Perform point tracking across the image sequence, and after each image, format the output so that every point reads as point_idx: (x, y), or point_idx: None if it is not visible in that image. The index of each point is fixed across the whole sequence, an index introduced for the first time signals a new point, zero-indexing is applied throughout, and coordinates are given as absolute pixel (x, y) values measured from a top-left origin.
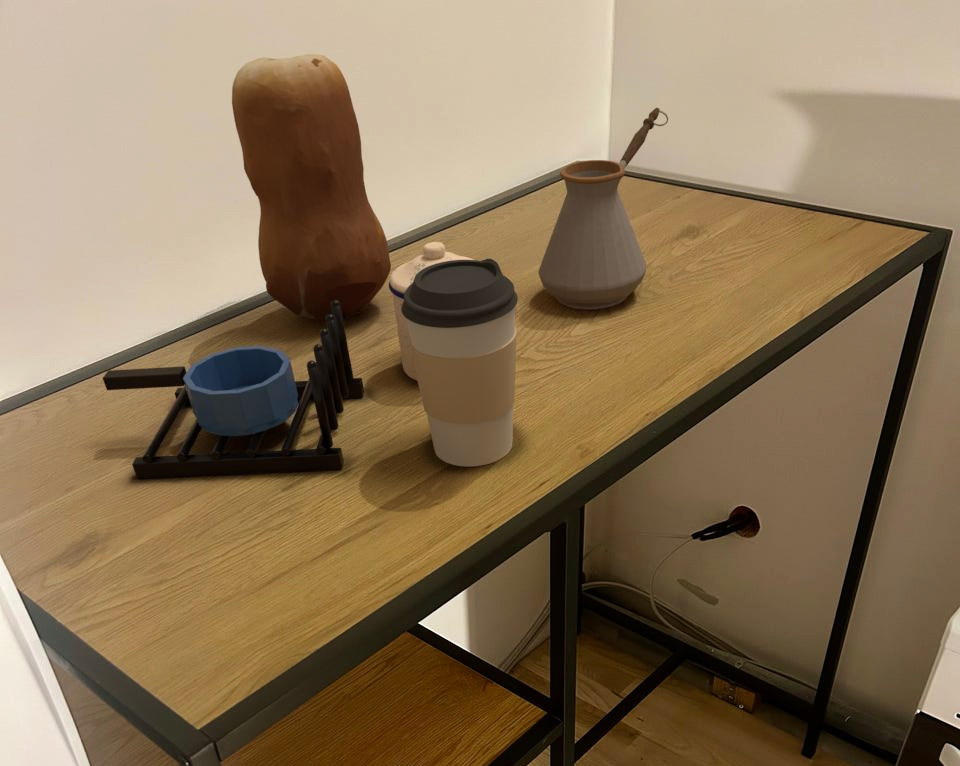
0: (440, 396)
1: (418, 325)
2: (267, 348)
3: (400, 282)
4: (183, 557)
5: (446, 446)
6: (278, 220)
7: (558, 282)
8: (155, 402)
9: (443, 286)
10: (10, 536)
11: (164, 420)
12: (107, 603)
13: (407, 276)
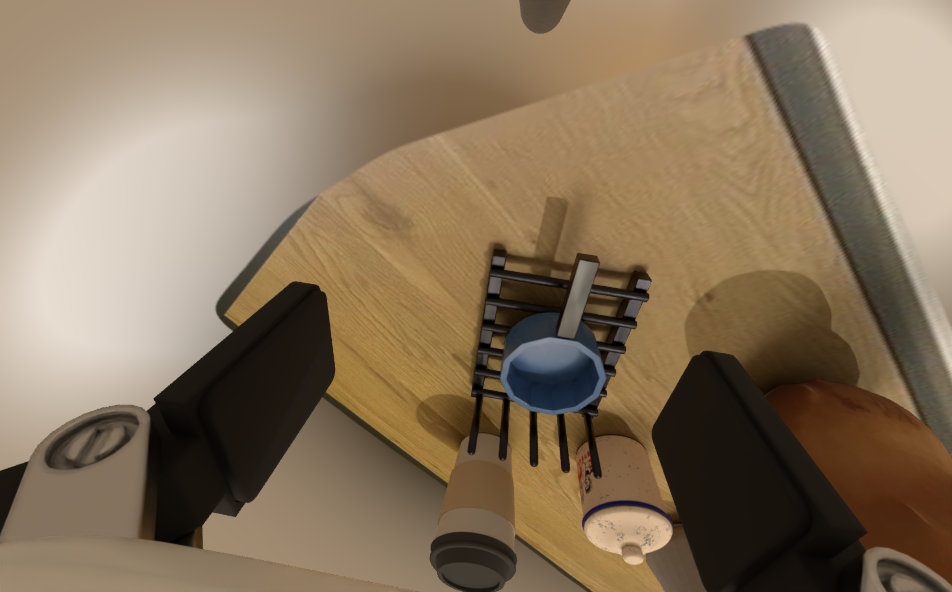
0: (451, 484)
1: (446, 532)
2: (588, 401)
3: (615, 515)
4: (374, 295)
5: (463, 448)
6: (838, 487)
7: (670, 544)
8: (661, 244)
9: (461, 568)
10: (413, 142)
11: (557, 283)
12: (320, 251)
13: (618, 523)
